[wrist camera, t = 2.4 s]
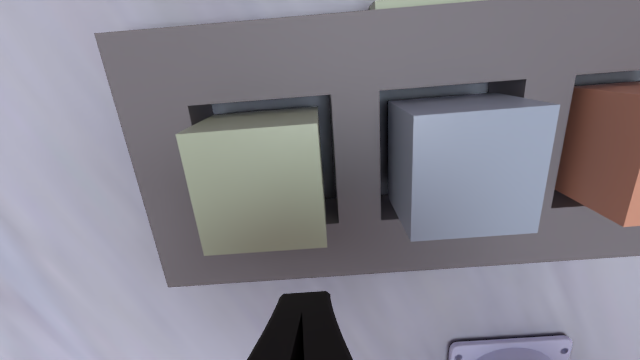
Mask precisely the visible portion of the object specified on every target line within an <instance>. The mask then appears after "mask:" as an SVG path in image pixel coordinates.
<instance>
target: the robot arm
mask: <svg viewBox="0 0 640 360" xmlns="http://www.w3.org/2000/svg"><path fill="white" fill-rule="evenodd" d="M572 346H573V342H572V340H571V339H570V338H569V337H568V336H565V335H560V336H543V337H527V338H511V339H495V340H479V341H463V342H454V343H453V344H451V346H450V349H449V360H569V357H570V353H571V350H572ZM247 360H353V359H352V357H351V355H350V352H349V350H348V348H347V346H346V343H345V341H344V339H343V337H342V334H341V332H340V329H339V326H338V324H337V321H336V318H335V315H334V312H333V308H332V304H331V299H330V294H329V293H328V292H326V291H321V292H306V293H291V294H283V295H282V296H281V297H280V298H279V301H278V303H277V305H276V308H275V310H274V312H273V314H272V316H271V318H270V320H269V322H268V324H267V326H266V327H265V329H264V331H263V333H262V335H261V337H260V338H259V340H258V342H257V344H256V345H255V347H254V349H253V351H252V352H251V354H250V356H249V357H248V359H247Z"/></svg>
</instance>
